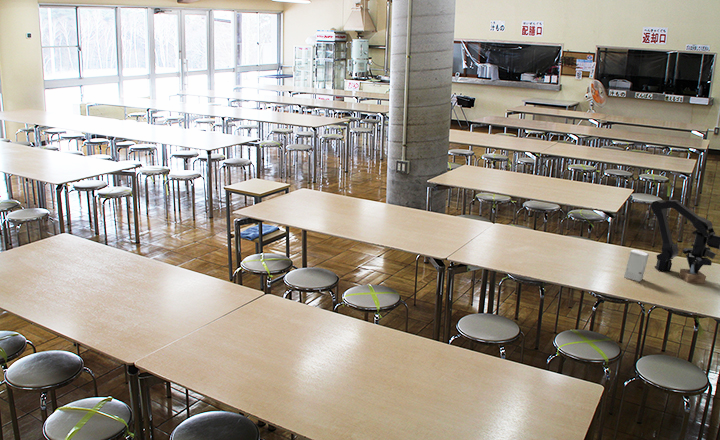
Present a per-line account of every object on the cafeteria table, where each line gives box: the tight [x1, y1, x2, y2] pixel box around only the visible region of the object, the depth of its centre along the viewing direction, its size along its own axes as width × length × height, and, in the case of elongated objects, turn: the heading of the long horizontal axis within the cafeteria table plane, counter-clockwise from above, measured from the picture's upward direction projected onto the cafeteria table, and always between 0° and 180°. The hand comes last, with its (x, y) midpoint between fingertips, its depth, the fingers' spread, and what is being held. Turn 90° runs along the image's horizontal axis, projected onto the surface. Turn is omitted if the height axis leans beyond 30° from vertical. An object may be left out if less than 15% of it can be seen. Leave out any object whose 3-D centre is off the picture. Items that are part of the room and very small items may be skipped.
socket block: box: [678, 268, 707, 284], centre depth 313 cm, size 9×9×4 cm
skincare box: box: [623, 249, 650, 282], centre depth 308 cm, size 8×6×15 cm
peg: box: [689, 264, 696, 274], centre depth 312 cm, size 3×3×8 cm
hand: (693, 271), depth 312 cm, fingers open, 5 cm apart
